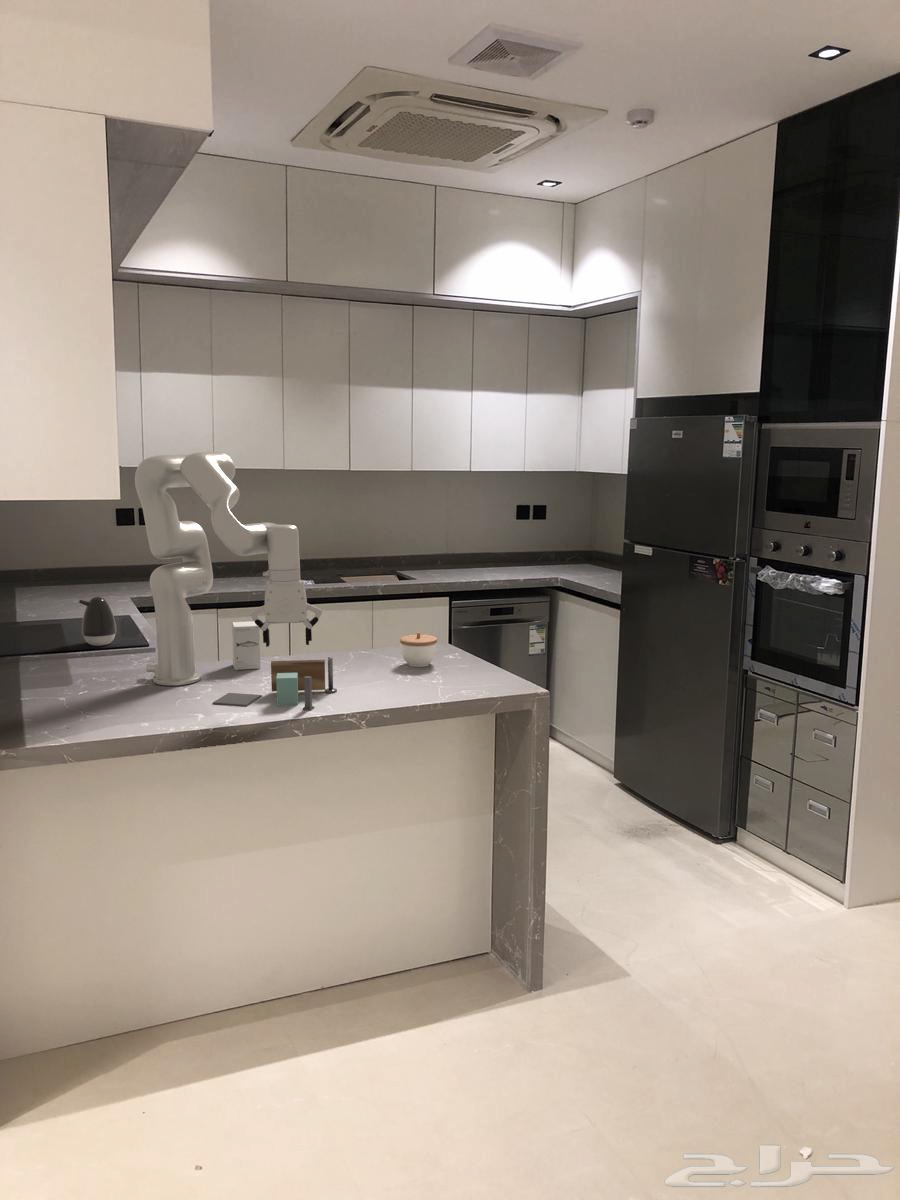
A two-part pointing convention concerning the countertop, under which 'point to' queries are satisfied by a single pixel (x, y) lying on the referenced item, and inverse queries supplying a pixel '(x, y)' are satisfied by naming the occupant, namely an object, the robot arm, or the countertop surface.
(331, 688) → the gate post
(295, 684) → the block
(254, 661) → the supplement box
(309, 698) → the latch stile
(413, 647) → the lidded jar
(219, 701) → the mat
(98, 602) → the pump dispenser
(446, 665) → the countertop surface
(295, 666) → the gate
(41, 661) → the countertop surface
